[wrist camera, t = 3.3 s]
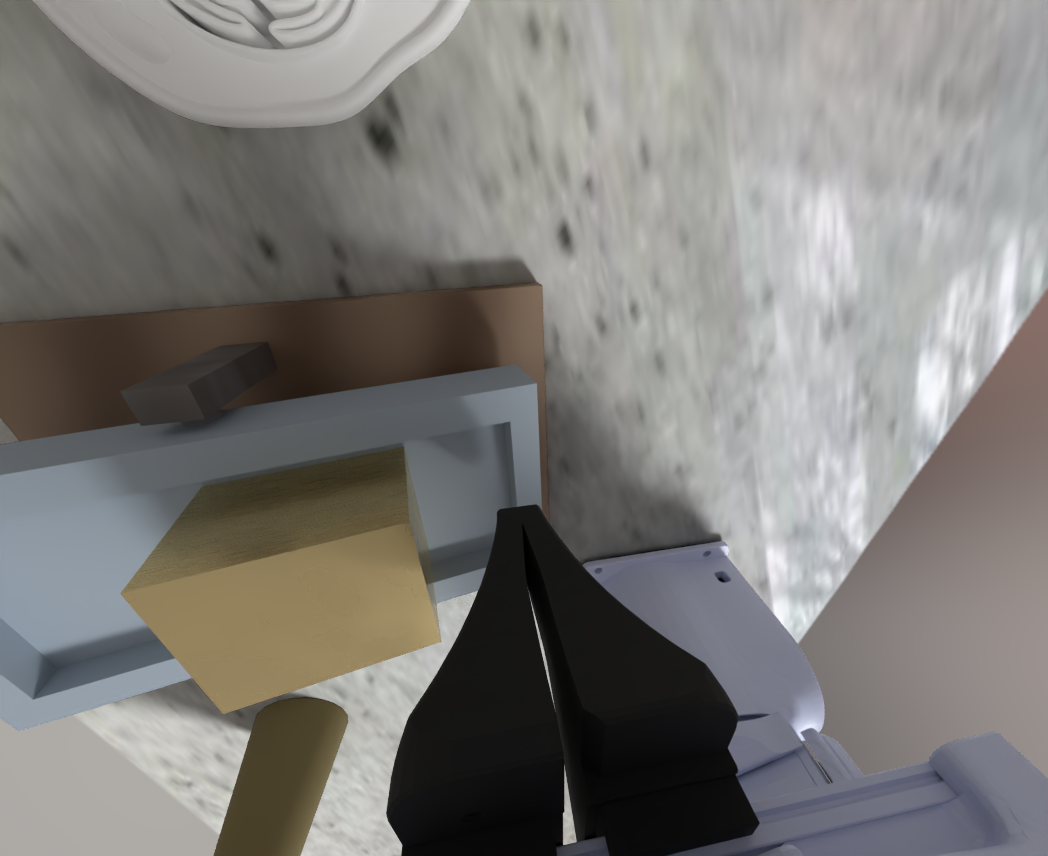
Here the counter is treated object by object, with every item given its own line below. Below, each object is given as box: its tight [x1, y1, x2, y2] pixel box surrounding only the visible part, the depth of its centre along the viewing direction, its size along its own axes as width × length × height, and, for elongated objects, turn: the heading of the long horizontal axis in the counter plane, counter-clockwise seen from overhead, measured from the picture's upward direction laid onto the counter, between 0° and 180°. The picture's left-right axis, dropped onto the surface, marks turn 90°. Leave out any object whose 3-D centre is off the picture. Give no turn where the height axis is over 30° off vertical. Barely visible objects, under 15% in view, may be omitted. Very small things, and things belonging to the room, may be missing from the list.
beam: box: [0, 364, 542, 731], centre depth 13 cm, size 18×9×2 cm, turn 93°
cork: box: [214, 698, 348, 856], centre depth 21 cm, size 6×6×11 cm
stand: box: [0, 282, 549, 522], centre depth 15 cm, size 20×14×5 cm
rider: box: [120, 447, 441, 714], centre depth 11 cm, size 6×5×4 cm
